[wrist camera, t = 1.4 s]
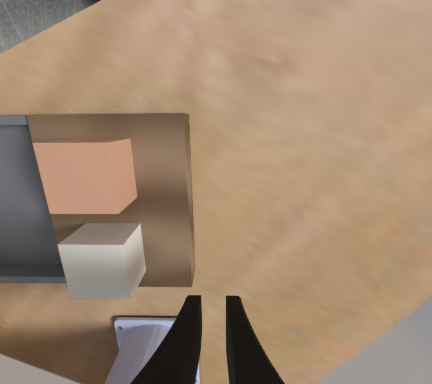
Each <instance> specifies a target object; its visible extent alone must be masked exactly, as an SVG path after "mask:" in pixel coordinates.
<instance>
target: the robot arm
mask: <svg viewBox="0 0 432 384" xmlns="http://www.w3.org/2000/svg"><path fill="white" fill-rule="evenodd" d="M114 326H115V332H116V337H117V343H118V348H119V353H118V355H117V357H116V359H115V361H114V364H113V366H112V368H111V370H110V373H109V375H108V377H107V379H106V381H105V384H200V374H199V357H200V351H201V337H202V310H201V295H189V296H187V297H186V300H185V302H184V304H183V306H182V308H181V310H180V312H179V314H178V316H177V318H140V317H118V318H116V320H115V322H114ZM226 353H227V363H228V374H229V384H285V383H284V382H283V380H282V379H281V377H280V376H279V374H278V373H277V371H276V370H275V368H274V367H273V365H272V363H271V362H270V360H269V358H268V357H267V355H266V353H265V352H264V350H263V348H262V346H261V344H260V342H259V341H258V339H257V337H256V335H255V333H254V331H253V329H252V326H251V324H250V322H249V320H248V318H247V315H246V313H245V310H244V307H243V304H242V301H241V298H240V297H239V296H226Z"/></svg>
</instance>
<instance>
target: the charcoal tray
mask: <svg viewBox="0 0 432 384" xmlns="http://www.w3.org/2000/svg"><path fill="white" fill-rule="evenodd" d="M0 283H67V282H66V278H65V274H64V270H63V265H62V261H61V257H60V253H59V249H58V244H57V240H56V236H55V232H54V228H53V223H52V219H51V215H50V212H49V208H48V204H47V200H46V196H45V192H44V188H43V184H42V180H41V176H40V171H39V167H38V163H37V159H36V155H35V151H34V147H33V142H32V138H31V133H30V129H29V125H28V121H27V117H26V115H0Z"/></svg>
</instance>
